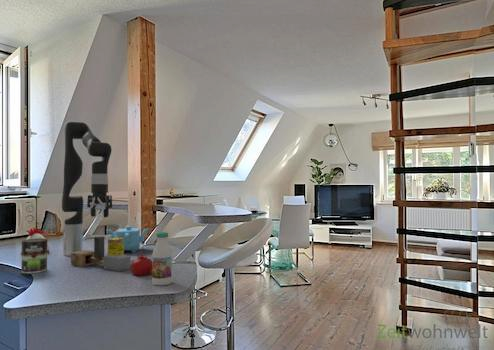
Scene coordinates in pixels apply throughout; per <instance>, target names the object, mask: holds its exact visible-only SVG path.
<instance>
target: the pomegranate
mask: <svg viewBox="0 0 494 350" xmlns="http://www.w3.org/2000/svg"><path fill="white" fill-rule="evenodd" d="M139 254H140V255H136V258H135V257H134V258H132V260H133V259H134V260H133V261H132V262H131V266H130V269H129V270H130V273H131V274H132V275H136V276H147V275H150V274H151V273H152V258H149V257H151V255H149V257H148V255H144V254H143V252H140V253H139Z"/></svg>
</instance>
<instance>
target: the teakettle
mask: <svg viewBox="0 0 494 350" xmlns="http://www.w3.org/2000/svg"><path fill="white" fill-rule="evenodd" d="M149 230H150V228H144V229H143V231H142V233H141V232H140V231H141V230H140V227H137V228H135V227H134V228H133V227H132V225H129V226H128V225H126V226H125V228H119V229H118V230H117V231H116V234H115V232H114V231H113V230H112V229H106V232H108V233H110V235H111V239H113V238H124V252H125V251H131V253H133V252H135V253H137V252H138V251H139V249H140V243H142V242H143V240H144V239H145V237H146V233H147V232H148V231H149ZM140 233H141V235H140Z"/></svg>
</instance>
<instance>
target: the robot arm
mask: <svg viewBox="0 0 494 350" xmlns="http://www.w3.org/2000/svg"><path fill="white" fill-rule="evenodd" d="M74 140H81V142H82V144H83V145H84V147H85V148H86V149H87V152H88V154H89V156H91V157H95V158H101V159H100V160H99V161H94V162H92V164H91V178H90V179H91V180H90V181H91V182H90V187H91V189H90V190H91V191H90V193H91V194H92V195H91V194H90V195H87V202H86V203H87V204H86V206H87V208H89V209H90V216H91V217H92V218H93V217H94V218H95V217H96V215H97V214H96V213H97V211H96V210H97V209H96V208H97V206H98V205H101V207H102V208H103V218H108V217H109V216H110V215H109V212H110V211H109V209H112V208H113V196H112V195H111V194H110V195H107V194H108V193H109V174H108V170H109V169H108V167H109V166H108V165H109V161H110V159H111V158H110V157H111V154H112V146H111V145H110V143H109V142H101V140H100V139H99V138H98V137H97V136H95V135H94V133H93V132H92V130H91V129H90V127H89V125H88V124H86V123H85V122H83V121H67V122H66V123H65V125H64V163H63V189H62V198H61V210H62V212H64V213H73V212H74V213H75V214H74V215H72V216H70V217H67V218H66V219H64V237H63V242H62V243H63V249H62V253H63V255H64V256H66V257H67V256H70V257H71V253H73V252H78V251H83V243H84V242H83V239H84V238H83V233H84V230H83V229H84V228H83V226H84V225H83V223H84V222H83V218H84V215H83V213H84V197H83V196H82V195H70V193H71V191H72V189H73V188H74V186H75V184H76V183H78V181H79V179H81V177H82V175H83V165H84V163H83V160H82V158H81V157H80V155H79V153H78V152H77V151H76V148H75V146H74Z"/></svg>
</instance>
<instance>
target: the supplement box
mask: <svg viewBox="0 0 494 350" xmlns="http://www.w3.org/2000/svg"><path fill="white" fill-rule="evenodd" d="M124 253H125V251H124V238H113V239H112V238H110V239H109V238H108V239H107V256H109V255H113V254H116V255H125V254H124Z"/></svg>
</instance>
